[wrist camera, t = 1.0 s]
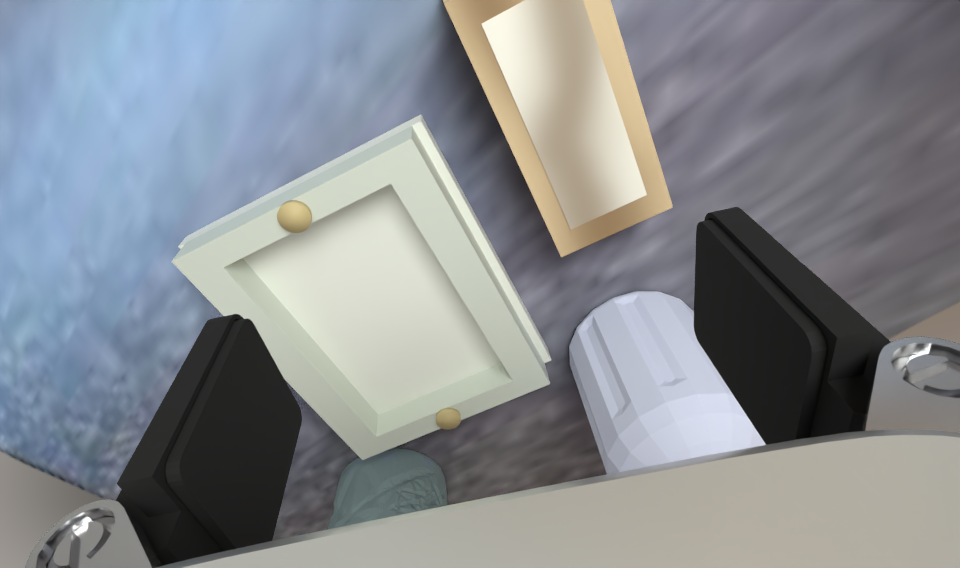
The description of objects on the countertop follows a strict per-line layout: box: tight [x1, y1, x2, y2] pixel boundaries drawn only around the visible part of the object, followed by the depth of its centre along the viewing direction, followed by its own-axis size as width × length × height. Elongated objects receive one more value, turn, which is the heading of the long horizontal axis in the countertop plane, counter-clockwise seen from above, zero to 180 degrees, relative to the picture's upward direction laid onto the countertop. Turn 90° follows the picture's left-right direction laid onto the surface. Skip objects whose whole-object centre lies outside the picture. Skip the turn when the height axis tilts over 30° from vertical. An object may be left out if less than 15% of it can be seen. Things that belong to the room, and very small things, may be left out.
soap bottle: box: [569, 291, 766, 474], centre depth 28 cm, size 9×9×25 cm
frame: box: [443, 0, 673, 257], centre depth 26 cm, size 6×13×5 cm, turn 26°
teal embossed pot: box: [327, 448, 448, 530], centre depth 39 cm, size 10×10×12 cm
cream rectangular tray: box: [172, 114, 551, 460], centre depth 33 cm, size 15×18×4 cm
